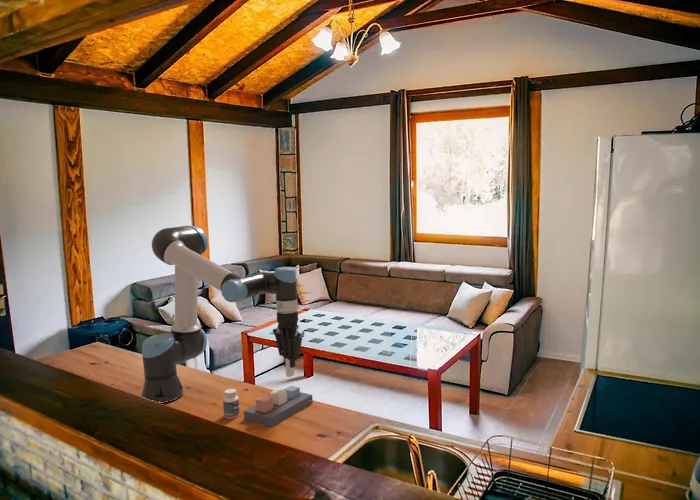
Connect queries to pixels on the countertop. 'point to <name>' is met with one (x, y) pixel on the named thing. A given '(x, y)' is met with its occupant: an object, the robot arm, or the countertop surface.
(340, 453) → the countertop surface
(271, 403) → the terracotta key
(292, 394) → the slate key
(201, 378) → the countertop surface
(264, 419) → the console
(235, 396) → the pill bottle
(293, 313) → the robot arm
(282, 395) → the white key
